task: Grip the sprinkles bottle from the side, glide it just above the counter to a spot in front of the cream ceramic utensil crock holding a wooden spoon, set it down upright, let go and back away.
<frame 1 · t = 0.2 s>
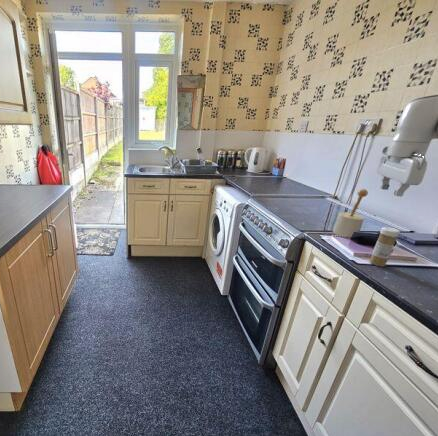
hand: (390, 192, 84), 24 cm above the countertop, tool pointing down, fingers open, 8 cm apart
utensil crock: (344, 234, 111), on the countertop
sprinkles bottle: (376, 264, 87), on the countertop
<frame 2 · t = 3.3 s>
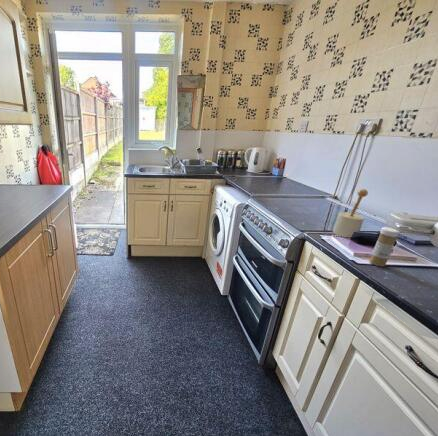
hand: (422, 217, 69), 22 cm above the countertop, tool horizontal, fingers open, 8 cm apart
nothing on the countertop moved.
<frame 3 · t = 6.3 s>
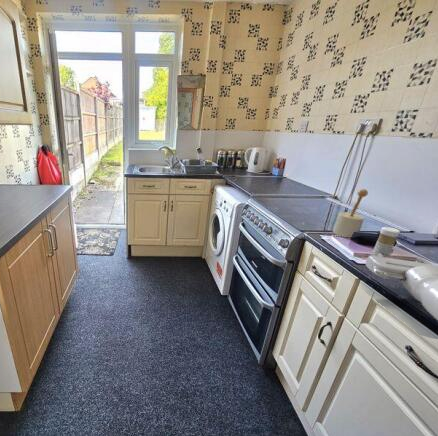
hand: (398, 258, 77), 7 cm above the countertop, tool horizontal, fingers open, 8 cm apart
nothing on the countertop moved.
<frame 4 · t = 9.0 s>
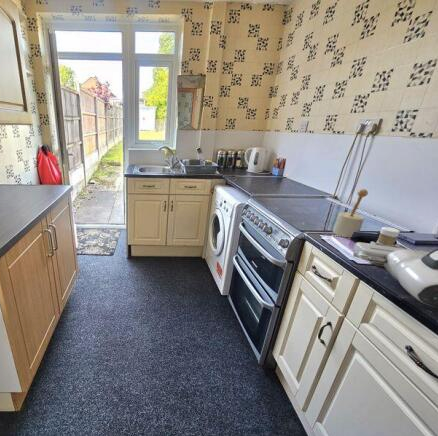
hand: (382, 245, 85), 7 cm above the countertop, tool horizontal, fingers closed on sprinkles bottle, 4 cm apart
sprinkles bottle: (376, 264, 87), on the countertop, touching gripper
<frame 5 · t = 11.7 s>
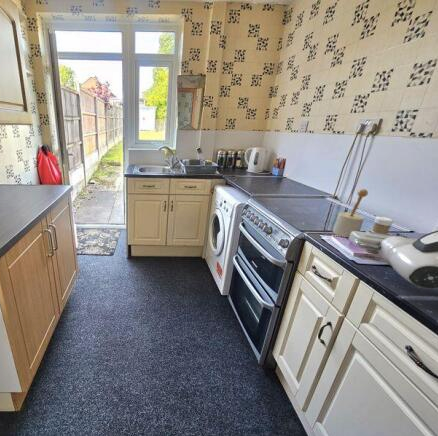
hand: (377, 234, 90), 9 cm above the countertop, tool horizontal, fingers closed on sprinkles bottle, 4 cm apart
sprinkles bottle: (371, 252, 91), point 2 cm above the countertop, touching gripper
when the fingers open (7 cm above the countertop, at t = 14.4 s): sprinkles bottle stays where it is, on the countertop.
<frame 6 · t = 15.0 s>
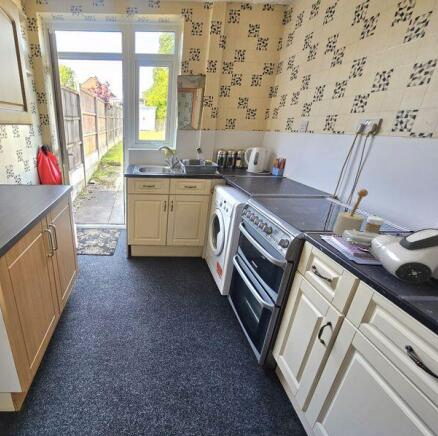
hand: (369, 232, 95), 7 cm above the countertop, tool horizontal, fingers open, 8 cm apart
sprinkles bottle: (363, 250, 97), on the countertop
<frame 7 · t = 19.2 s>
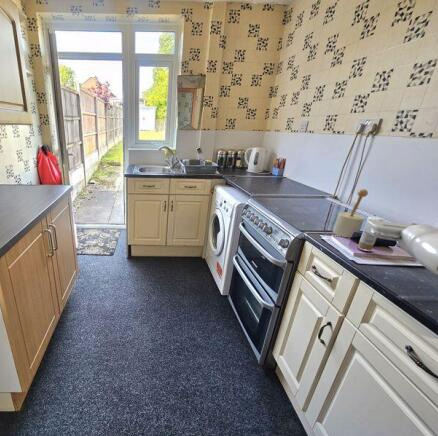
hand: (395, 223, 81), 16 cm above the countertop, tool horizontal, fingers open, 8 cm apart
nothing on the countertop moved.
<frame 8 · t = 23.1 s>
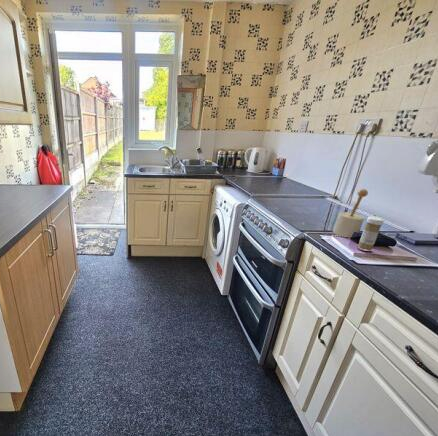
nothing on the countertop moved.
at the end: sprinkles bottle inside the target area on the countertop beside the utensil crock (2.1 cm from its centre), on the countertop; sprinkles bottle tilted 0°; the gripper is holding nothing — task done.
